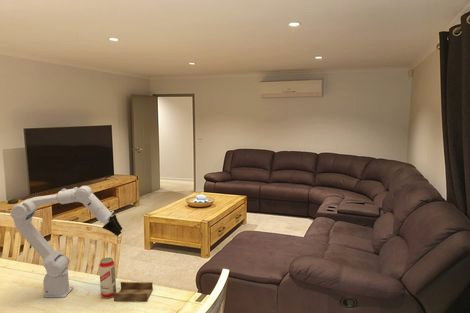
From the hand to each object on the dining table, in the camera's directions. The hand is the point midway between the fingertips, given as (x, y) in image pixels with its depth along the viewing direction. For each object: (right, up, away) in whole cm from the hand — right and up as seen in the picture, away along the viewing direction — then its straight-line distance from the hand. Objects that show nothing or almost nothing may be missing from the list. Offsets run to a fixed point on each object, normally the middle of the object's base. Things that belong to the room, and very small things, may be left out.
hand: (120, 232), depth 154 cm
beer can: (-5, -27, 0) cm, 28 cm away
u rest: (+6, -27, 0) cm, 28 cm away
